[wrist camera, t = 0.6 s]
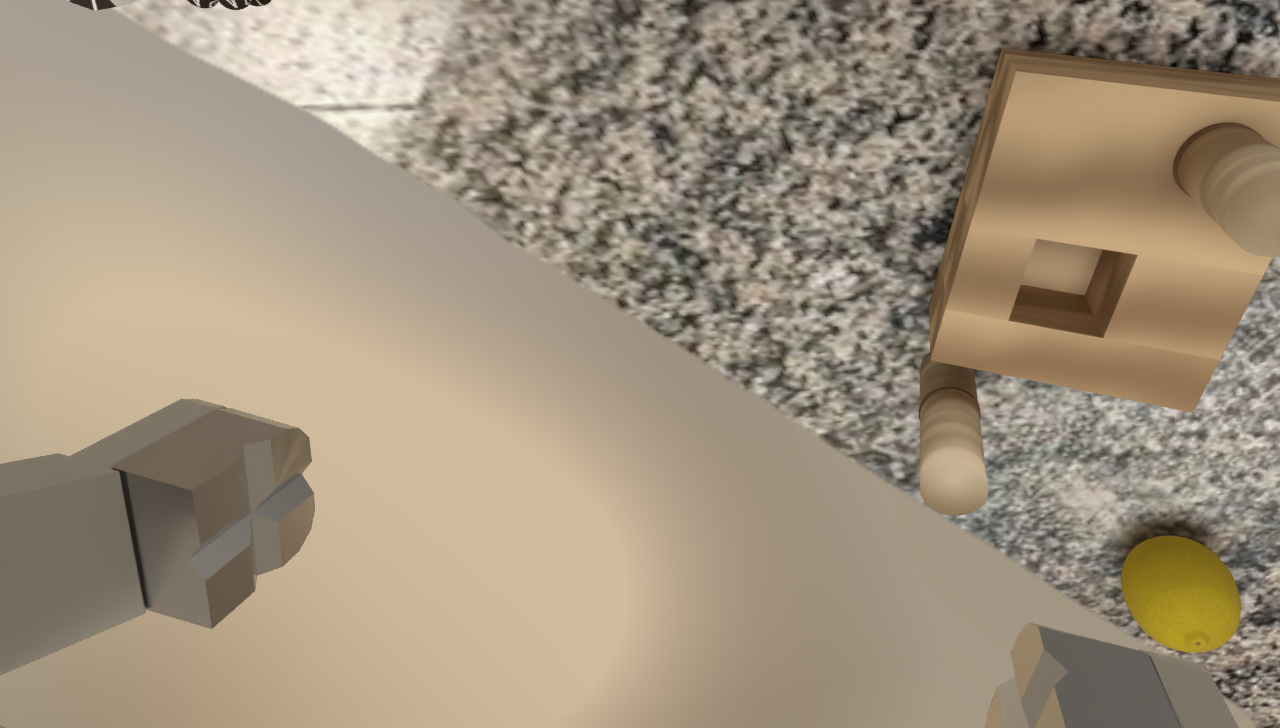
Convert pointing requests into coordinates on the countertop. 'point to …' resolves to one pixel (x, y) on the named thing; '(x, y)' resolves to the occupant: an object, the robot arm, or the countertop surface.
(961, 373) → the peg
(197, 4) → the decorative candle
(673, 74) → the countertop surface
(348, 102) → the countertop surface
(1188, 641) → the lemon
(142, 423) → the robot arm
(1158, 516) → the countertop surface
